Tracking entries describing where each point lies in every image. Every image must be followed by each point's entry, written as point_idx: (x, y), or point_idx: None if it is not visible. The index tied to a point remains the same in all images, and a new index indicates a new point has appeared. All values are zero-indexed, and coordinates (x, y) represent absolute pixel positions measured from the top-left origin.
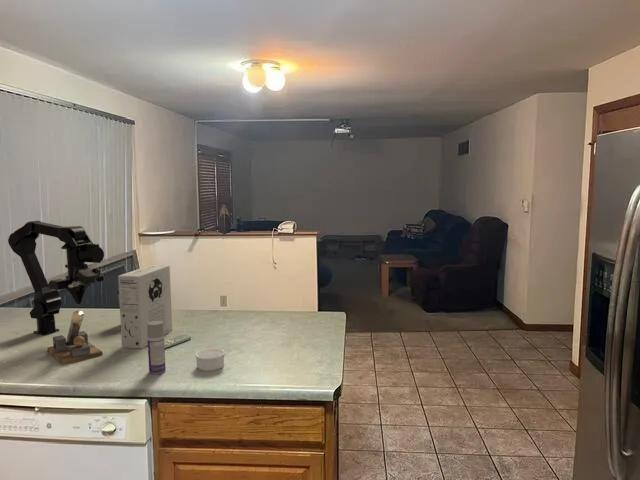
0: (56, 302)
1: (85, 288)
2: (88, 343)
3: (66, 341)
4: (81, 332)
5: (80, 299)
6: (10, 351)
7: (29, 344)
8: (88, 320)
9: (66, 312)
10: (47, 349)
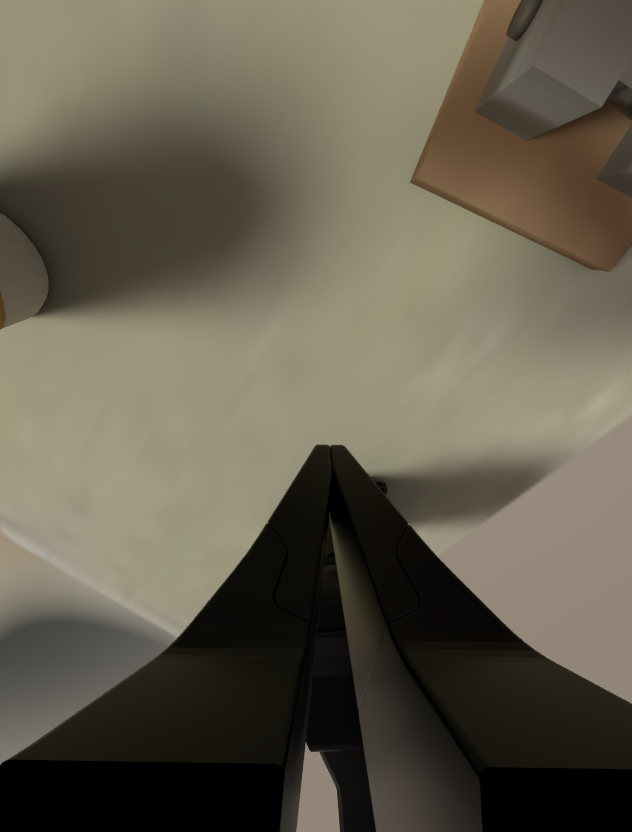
0: (337, 617)
1: (184, 665)
2: (501, 11)
3: None
4: (597, 9)
5: (326, 474)
6: (601, 421)
7: (501, 434)
8: (159, 500)
9: (171, 603)
10: (599, 269)
